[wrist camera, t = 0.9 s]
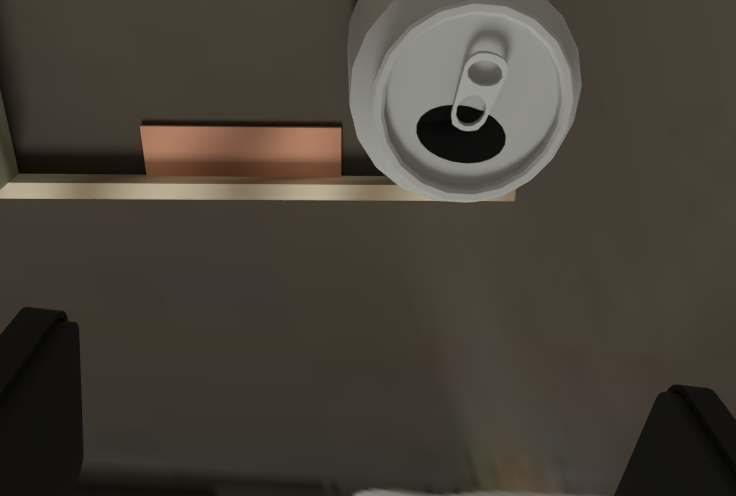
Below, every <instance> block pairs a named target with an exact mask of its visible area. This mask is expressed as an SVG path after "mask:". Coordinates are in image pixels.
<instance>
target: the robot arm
mask: <svg viewBox="0 0 736 496" xmlns="http://www.w3.org/2000/svg"><path fill="white" fill-rule="evenodd" d="M82 463H83V426H82V398H81V371H80V343H79V327H78V324H77V323H76V322H70V321H68V318H67V315H66V313H65V312H64V311H58V310H49V309H41V308H32V307H24V308H23V309H22V310H20V311H19V313H18V314H17V315H16V316H15V318H14V319H13V320H12V321H11V322H10V324H9V325H8V326H7V327H6V329H5V330H4V331H3V332H2V334H1V335H0V496H70V494H71V492H72V490H73V488H74V486H75V484H76V481H77V479H78V477H79V474H80V471H81V467H82ZM614 496H736V420H735V419H734V417H733V416H732V415H731V413H730V412H729V411H728V409H727V408H726V406H725V405H724V404H723V402H722V401H721V400H720V398H719V397H718V396H717V394H716V393H715V392H714V391H713V390H711V389H708V388H702V387H694V386H686V385H672V386H671V387H670V388H669V389H668V390H667V392H661V393H660V394H659V395H658V396H657V398H656V400H655V402H654V405H653V407H652V409H651V412H650V414H649V416H648V419H647V421H646V423H645V425H644V428H643V430H642V432H641V435H640V437H639V439H638V442H637V444H636V446H635V449H634V451H633V453H632V456H631V458H630V460H629V463H628V465H627V467H626V470H625V472H624V474H623V476H622V479H621V481H620V483H619V486H618V488H617V490H616V493H615V495H614Z"/></svg>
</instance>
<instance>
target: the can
mask: <svg viewBox="0 0 736 496" xmlns="http://www.w3.org/2000/svg"><path fill="white" fill-rule="evenodd" d="M348 77H349V105H350V109H351V113H352V117H353V121H354V125H355V129H356V133H357V137H358V140H359V141H360V143H361V144H362V146H363V148H364V149H365V151H366V152H367V154H368V155H369V157H370V159H371V160H372V162H373V163H374V165H375V166H376V168H377V169H379V170H380V171H381V172H382V173H384V174H385V175H386V176H387V177H389V178H390V179H391V180H392V181H393V182H395V183H396V184H397V185H398V186H400V187H401V188H402V189H405V190H408V191H410V192H413V193H415V194H418V195H421V196H423V197H426V198H428V199H431V200H437V201H452V202H476V201H481V200H485V199H489V198H494V197H498V196H503V195H505V194H507V193H508V192H510V191H512V190H514V189H516V188H518V187H519V186H521V185H523V184H525V183H527V182H529V181H530V180H531V179H532V178H533V177H534V176H535V175H537V174H538V173H539V172H540V171H541V170H542V169H543V168H544V167H545V166H546V165H547V164H548V163H549V162H550V161H551V160H552V159H553V157H554V156H555V154H556V152H557V150H558V149H559V147H560V145H561V143H562V142H563V140H564V138H565V136H566V134H567V133H568V131H569V129H570V127H571V125H572V124H573V122H574V118H575V113H576V109H577V104H578V100H579V96H580V91H581V87H582V85H581V74H580V63H579V52H578V48H577V46H576V44H575V42H574V39H573V37H572V35H571V33H570V31H569V28H568V26H567V24H566V22H565V19H564V17H563V16H562V15H561V14H560V13H559V12H558V11H557V10H556V9H555V8H554V7H553V6H552V5H551V4H550V3H549V2H548V1H547V0H357V3H356V5H355V8H354V11H353V13H352V16H351V18H350V21H349V35H348Z"/></svg>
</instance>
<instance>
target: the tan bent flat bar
mask: <svg viewBox="0 0 736 496" xmlns="http://www.w3.org/2000/svg"><path fill="white" fill-rule="evenodd" d="M140 130H141V138H142V145H143V153H144V160H145V168H146V175H143V174H19V171H18V167H17V162H16V158H15V153H14V149H13V144H12V140H11V135H10V131H9V126H8V122H7V117H6V113H5V108H4V104H3V99H2V95H1V90H0V198H31V199H221V200H410V201H437V200H431V199H428V198H426V197H423V196H421V195H418V194H415V193H413V192H410V191H408V190H405V189H402V188H401V187H400V186H398V185H397V184H396V183H395V182H393V181H392V180H391V179H390V178H389V177H387V176H341V127H298V126H191V125H141V126H140ZM515 192H516V189H514V190H512V191H510V192H508V193H507V194H505V195H503V196H498V197H494V198H489V199H485V200H481V201H514V200H515Z"/></svg>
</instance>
